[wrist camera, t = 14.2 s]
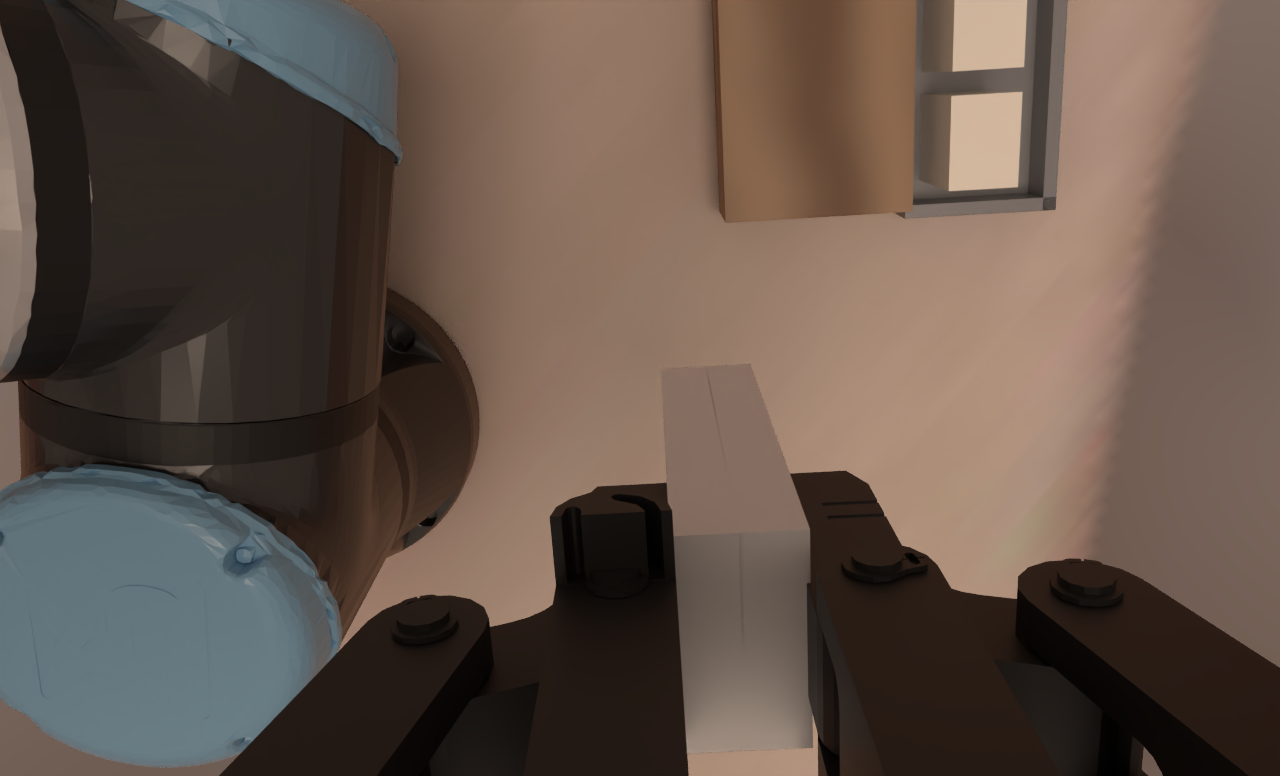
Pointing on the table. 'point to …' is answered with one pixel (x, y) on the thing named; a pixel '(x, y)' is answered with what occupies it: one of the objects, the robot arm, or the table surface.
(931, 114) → the beige block
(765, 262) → the table surface
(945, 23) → the beige block
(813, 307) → the table surface
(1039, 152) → the tray
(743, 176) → the board
